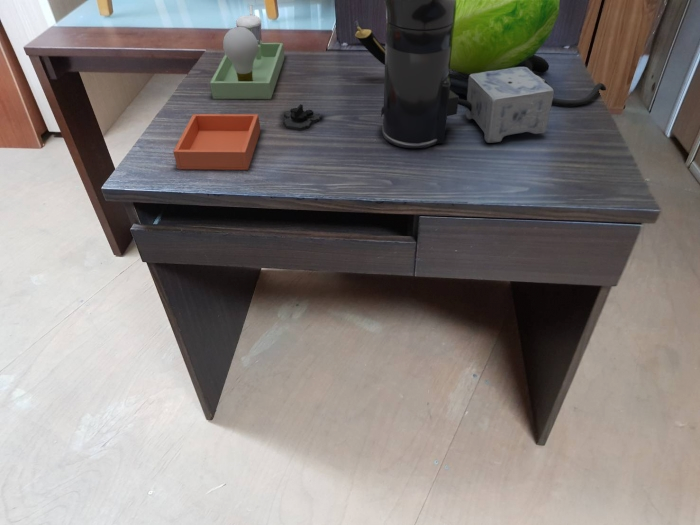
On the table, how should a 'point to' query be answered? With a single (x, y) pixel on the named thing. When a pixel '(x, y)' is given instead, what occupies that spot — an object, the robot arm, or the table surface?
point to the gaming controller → (535, 65)
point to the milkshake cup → (254, 26)
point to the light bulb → (241, 51)
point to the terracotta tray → (218, 142)
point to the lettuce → (499, 33)
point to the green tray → (263, 77)
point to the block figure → (300, 118)
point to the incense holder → (509, 102)
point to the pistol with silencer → (378, 52)
